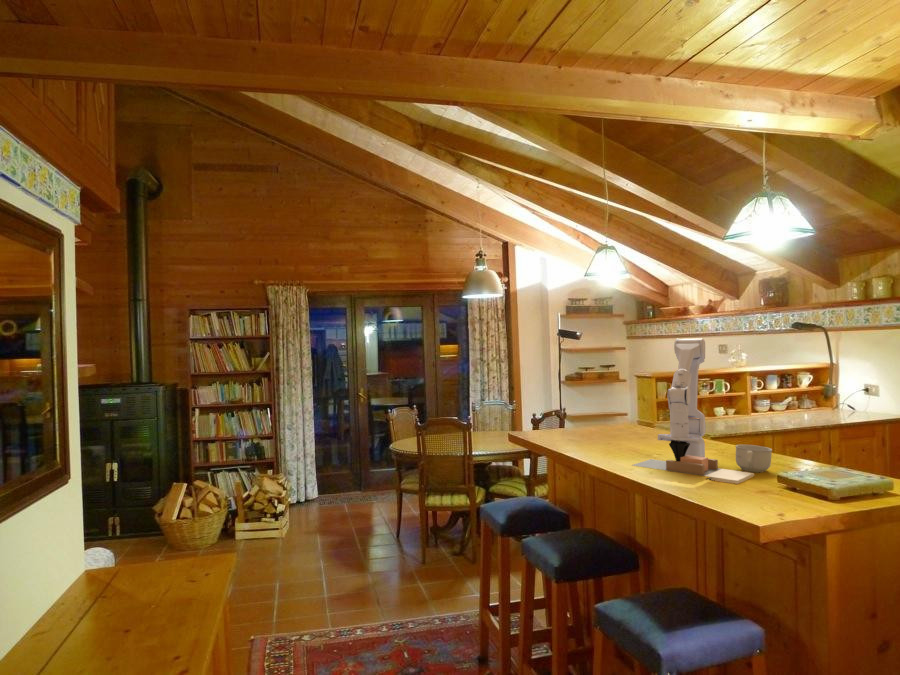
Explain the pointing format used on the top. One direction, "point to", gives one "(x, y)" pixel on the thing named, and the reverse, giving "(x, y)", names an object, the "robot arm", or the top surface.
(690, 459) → the terracotta block
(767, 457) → the teacup
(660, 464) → the tunnel board
